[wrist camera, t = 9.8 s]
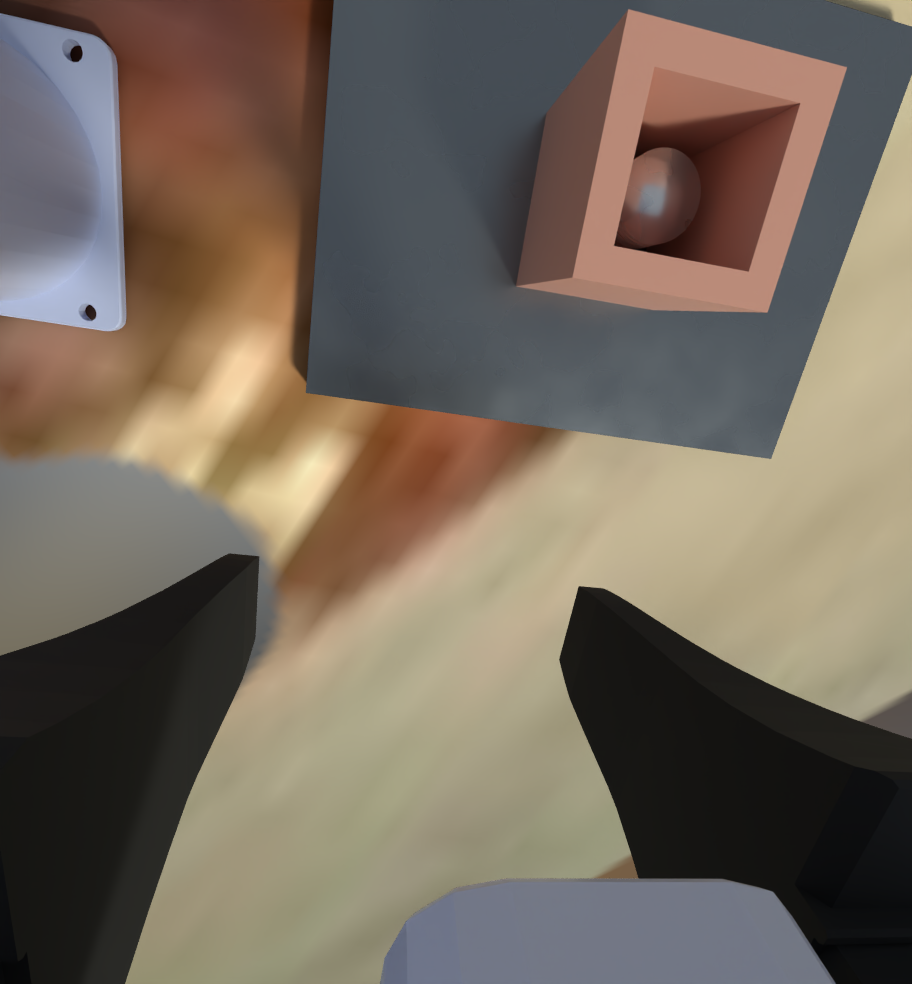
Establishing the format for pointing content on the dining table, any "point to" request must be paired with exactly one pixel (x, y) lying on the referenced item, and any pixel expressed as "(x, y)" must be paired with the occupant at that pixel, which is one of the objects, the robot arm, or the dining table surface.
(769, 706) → the robot arm
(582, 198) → the collar
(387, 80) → the stand
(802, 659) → the dining table surface
